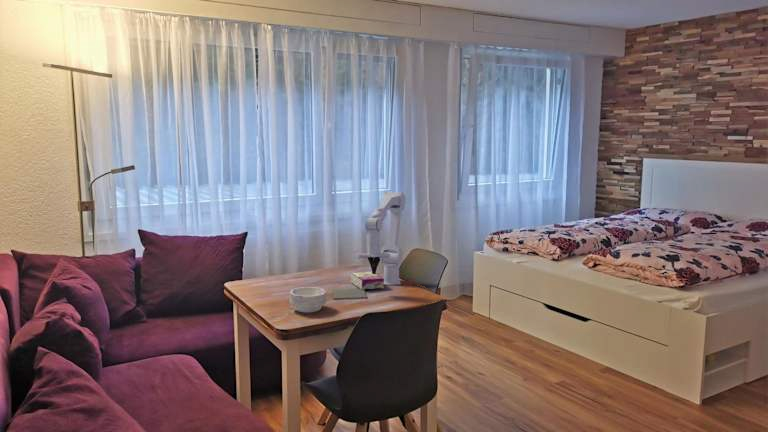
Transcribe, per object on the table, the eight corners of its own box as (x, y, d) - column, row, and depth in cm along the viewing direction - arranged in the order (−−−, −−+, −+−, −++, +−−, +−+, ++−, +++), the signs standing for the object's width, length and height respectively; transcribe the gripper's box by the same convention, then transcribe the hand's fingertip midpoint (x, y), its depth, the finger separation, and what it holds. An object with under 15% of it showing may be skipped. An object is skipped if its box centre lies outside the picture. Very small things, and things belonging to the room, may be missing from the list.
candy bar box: (384, 289, 278) (371, 281, 293) (384, 278, 277) (372, 271, 292) (361, 290, 274) (350, 282, 289) (361, 279, 273) (350, 272, 288)
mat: (332, 290, 275) (332, 289, 275) (363, 289, 277) (363, 288, 276) (333, 299, 261) (333, 298, 261) (366, 298, 263) (366, 297, 263)
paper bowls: (334, 309, 247) (334, 291, 246) (304, 317, 236) (304, 298, 235) (311, 302, 258) (311, 284, 256) (282, 309, 247) (282, 290, 246)
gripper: (358, 246, 262) (358, 276, 264) (390, 245, 264) (390, 275, 266) (357, 243, 269) (357, 272, 271) (389, 242, 271) (389, 271, 273)
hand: (373, 273), depth 269 cm, fingers closed
